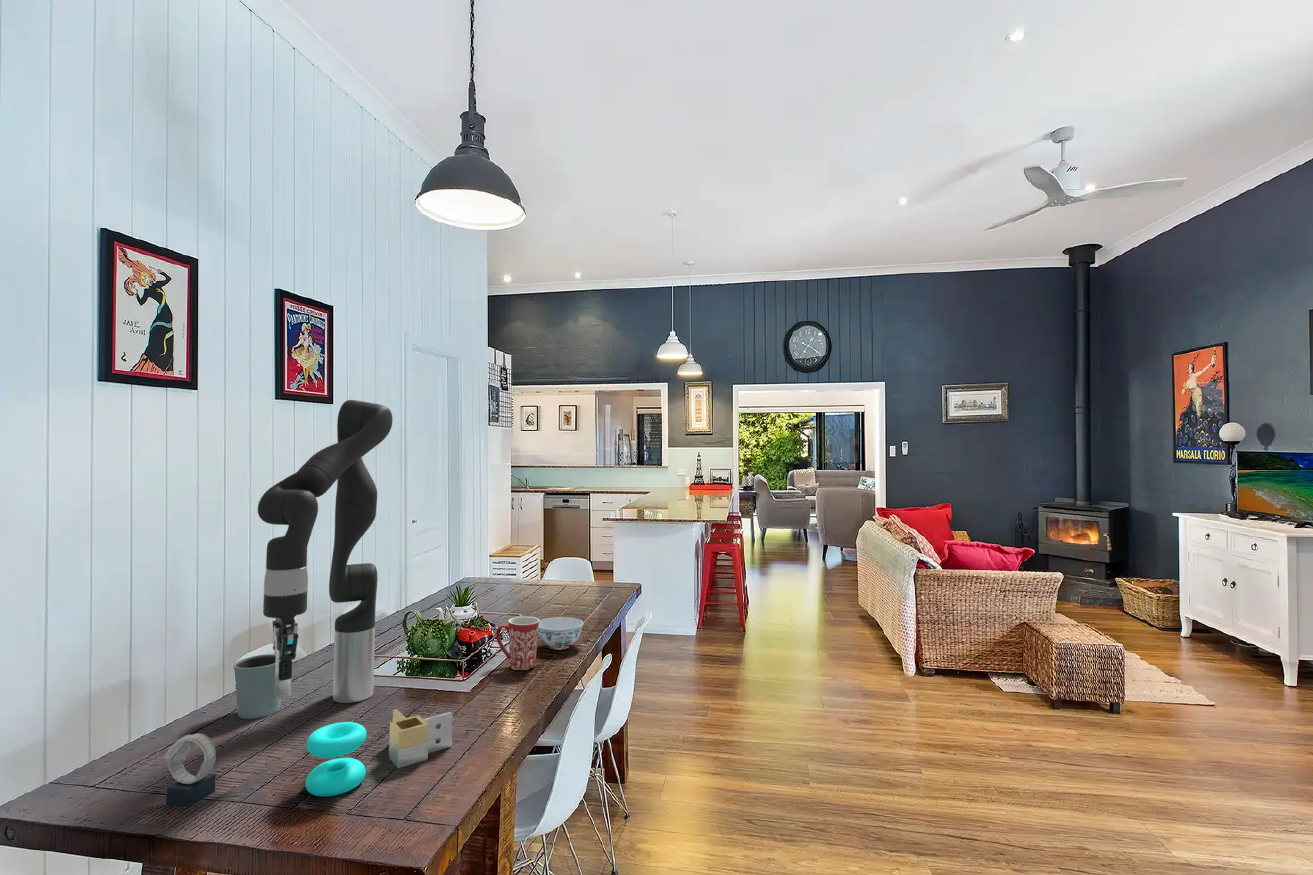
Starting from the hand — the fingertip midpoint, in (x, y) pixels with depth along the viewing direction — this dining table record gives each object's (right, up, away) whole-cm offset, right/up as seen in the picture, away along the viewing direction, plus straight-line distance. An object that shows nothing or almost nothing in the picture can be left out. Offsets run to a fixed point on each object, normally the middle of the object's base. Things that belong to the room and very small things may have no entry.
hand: (283, 676), depth 125 cm
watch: (-9, -17, -13) cm, 23 cm away
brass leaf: (+22, -18, +5) cm, 29 cm away
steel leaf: (+26, -18, +4) cm, 32 cm away
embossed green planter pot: (-20, -18, +24) cm, 36 cm away
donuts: (+15, -17, -8) cm, 24 cm away
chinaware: (+43, -20, +76) cm, 89 cm away
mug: (+34, -19, +58) cm, 69 cm away
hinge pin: (0, -4, 0) cm, 4 cm away
